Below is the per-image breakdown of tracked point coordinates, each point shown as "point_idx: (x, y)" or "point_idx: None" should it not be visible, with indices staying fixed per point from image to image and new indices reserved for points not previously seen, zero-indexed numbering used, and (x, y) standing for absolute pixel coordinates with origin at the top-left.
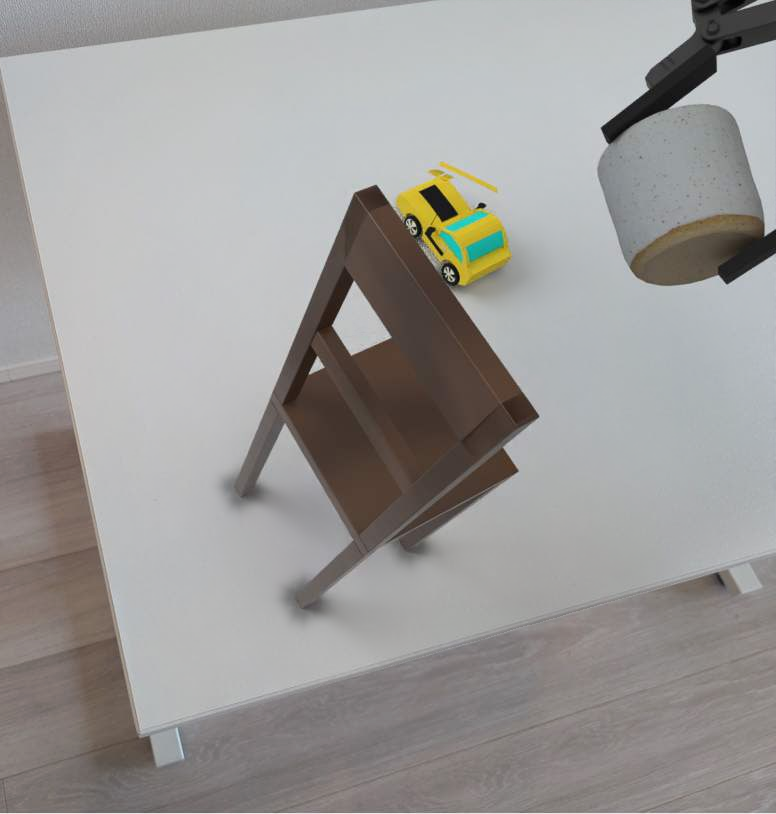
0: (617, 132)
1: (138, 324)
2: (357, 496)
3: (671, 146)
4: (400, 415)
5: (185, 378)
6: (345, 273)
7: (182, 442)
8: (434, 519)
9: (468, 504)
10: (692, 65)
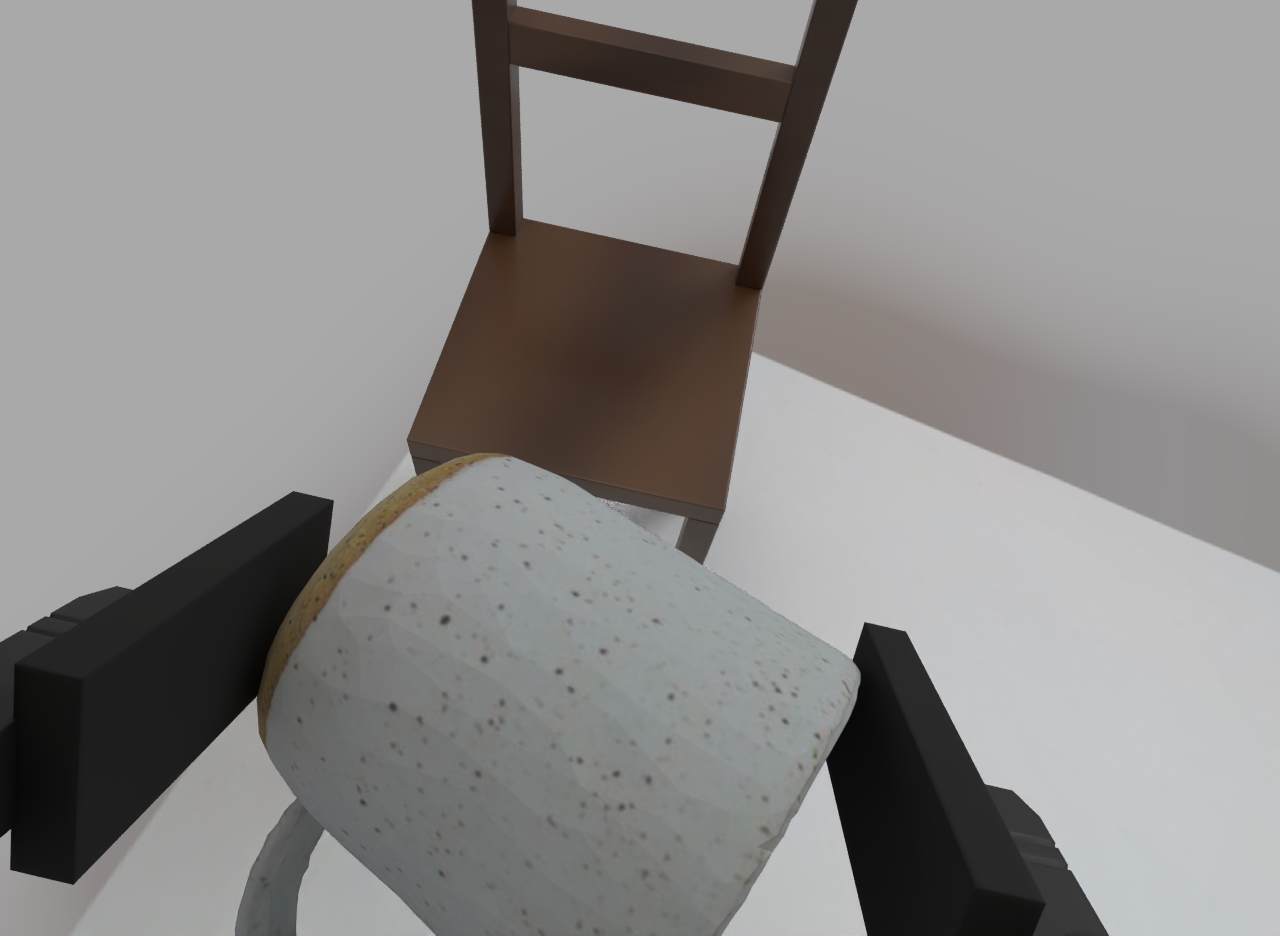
0: (864, 656)
1: (974, 539)
2: (564, 247)
3: (715, 604)
4: (615, 368)
5: (865, 536)
6: None
7: (785, 475)
8: None
9: None
10: (970, 821)
